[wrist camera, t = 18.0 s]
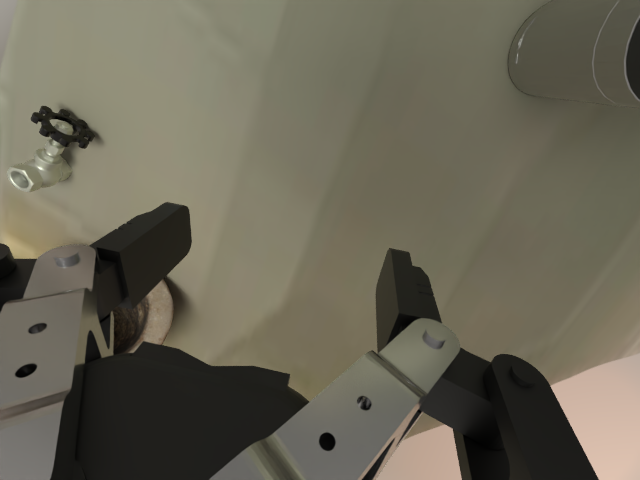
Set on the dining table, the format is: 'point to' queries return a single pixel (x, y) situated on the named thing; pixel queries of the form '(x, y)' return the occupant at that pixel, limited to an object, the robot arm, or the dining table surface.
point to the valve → (49, 152)
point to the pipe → (143, 321)
